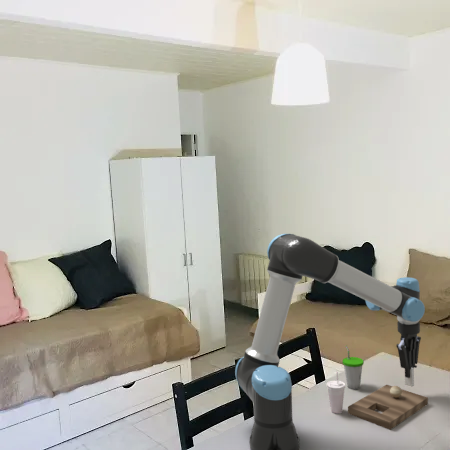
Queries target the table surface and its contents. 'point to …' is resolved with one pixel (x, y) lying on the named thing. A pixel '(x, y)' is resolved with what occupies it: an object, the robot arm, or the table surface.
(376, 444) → the table surface
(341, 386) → the smoothie
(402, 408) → the brown wooden flat board
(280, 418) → the robot arm
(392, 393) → the ball
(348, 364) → the cup
